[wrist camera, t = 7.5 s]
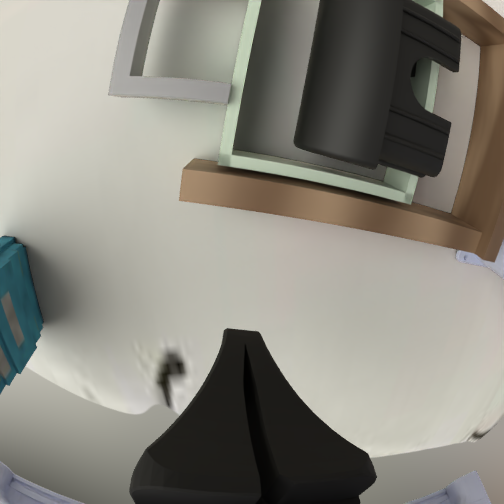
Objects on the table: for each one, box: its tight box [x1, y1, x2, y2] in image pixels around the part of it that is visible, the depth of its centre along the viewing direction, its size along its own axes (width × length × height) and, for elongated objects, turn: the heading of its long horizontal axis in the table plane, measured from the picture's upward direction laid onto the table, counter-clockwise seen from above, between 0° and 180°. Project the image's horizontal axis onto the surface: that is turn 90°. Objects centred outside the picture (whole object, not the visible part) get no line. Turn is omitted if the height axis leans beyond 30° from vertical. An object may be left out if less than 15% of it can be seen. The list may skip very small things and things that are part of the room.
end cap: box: [294, 0, 461, 177], centre depth 13 cm, size 10×7×7 cm
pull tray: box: [108, 0, 443, 205], centre depth 13 cm, size 17×14×4 cm
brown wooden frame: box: [179, 0, 504, 263], centre depth 13 cm, size 21×18×5 cm
